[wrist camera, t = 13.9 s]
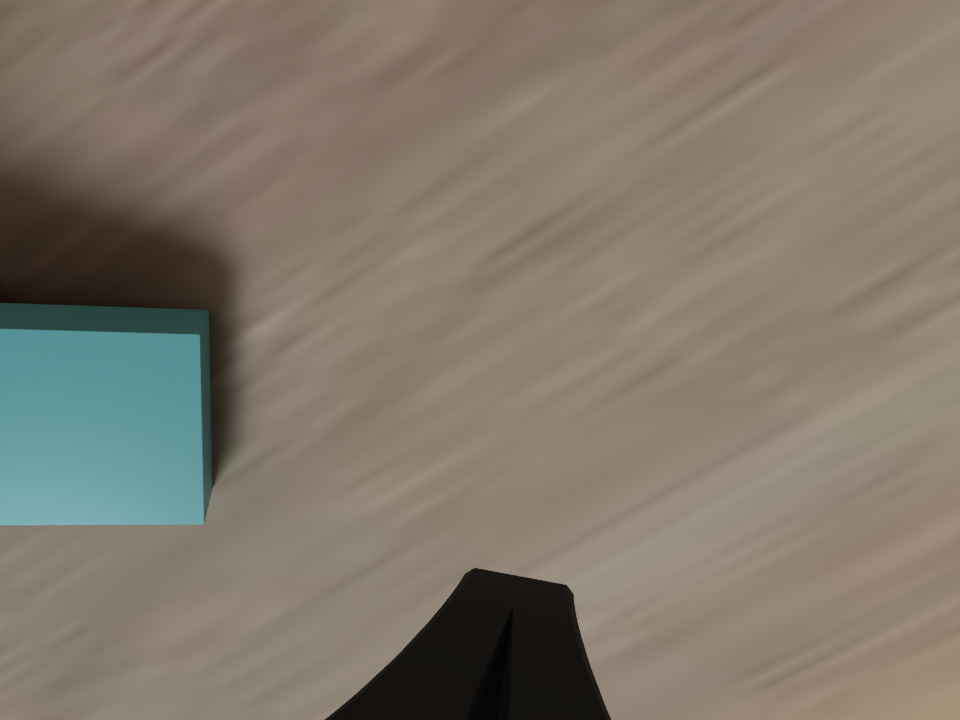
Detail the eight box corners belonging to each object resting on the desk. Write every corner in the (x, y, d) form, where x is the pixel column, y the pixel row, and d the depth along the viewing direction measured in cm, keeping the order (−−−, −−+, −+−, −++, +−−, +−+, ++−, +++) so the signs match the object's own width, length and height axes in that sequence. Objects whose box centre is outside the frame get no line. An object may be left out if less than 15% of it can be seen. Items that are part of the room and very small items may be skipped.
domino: (212, 488, 24) (-162, 488, 23) (208, 310, 23) (-197, 296, 21) (204, 524, 23) (-200, 526, 21) (199, 334, 21) (-242, 321, 19)
